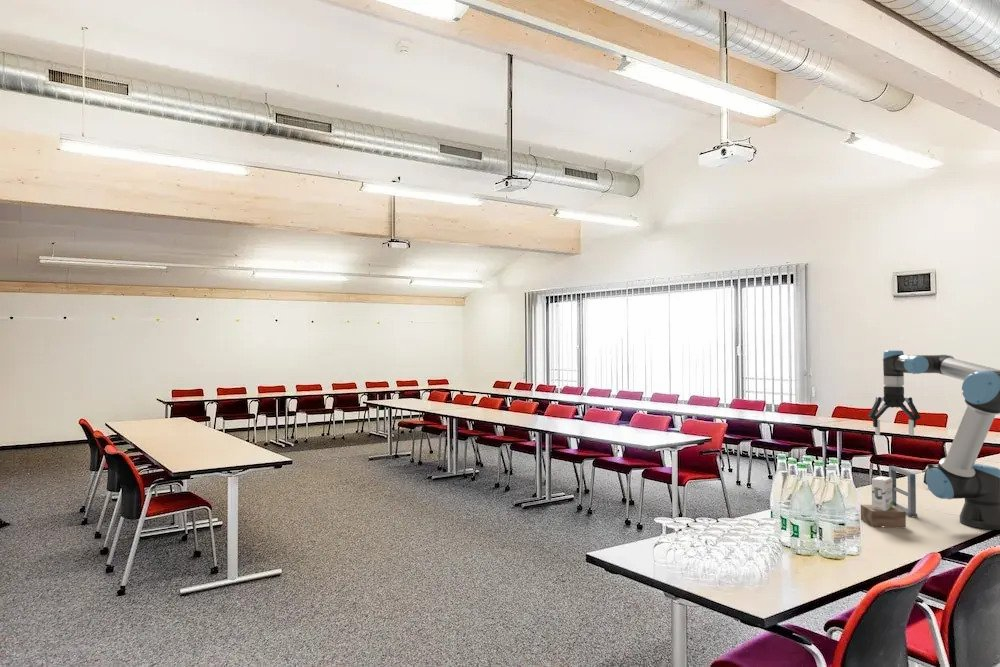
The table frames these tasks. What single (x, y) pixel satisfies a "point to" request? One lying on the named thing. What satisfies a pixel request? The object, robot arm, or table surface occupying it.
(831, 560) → the table surface
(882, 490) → the ink box
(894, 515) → the walnut plinth
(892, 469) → the rack
